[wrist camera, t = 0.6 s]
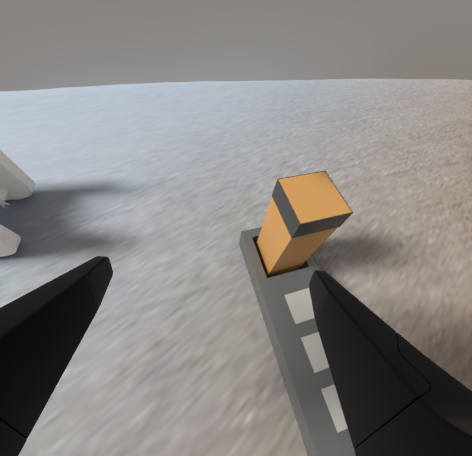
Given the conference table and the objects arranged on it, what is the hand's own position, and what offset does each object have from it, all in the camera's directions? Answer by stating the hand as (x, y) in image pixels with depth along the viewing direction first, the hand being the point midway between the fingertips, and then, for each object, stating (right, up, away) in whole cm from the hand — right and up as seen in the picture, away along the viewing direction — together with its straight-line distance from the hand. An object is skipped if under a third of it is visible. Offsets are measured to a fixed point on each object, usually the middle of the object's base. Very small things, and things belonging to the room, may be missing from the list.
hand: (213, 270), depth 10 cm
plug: (+6, -2, +17) cm, 18 cm away
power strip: (+8, -9, +13) cm, 18 cm away
